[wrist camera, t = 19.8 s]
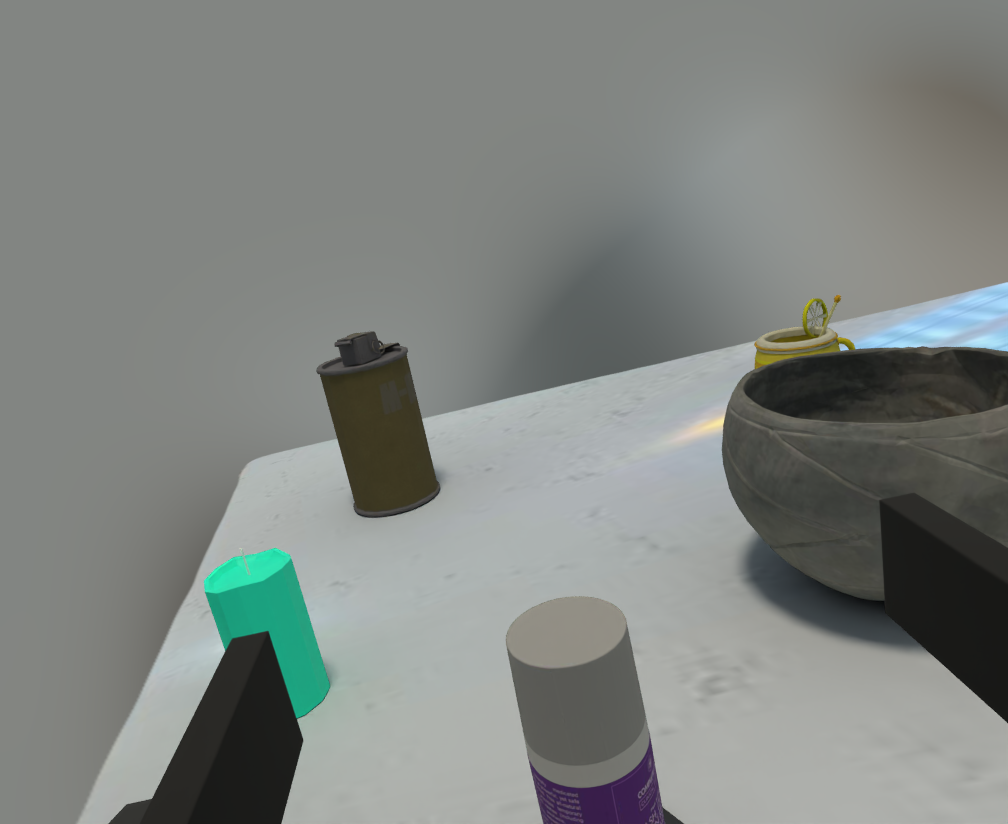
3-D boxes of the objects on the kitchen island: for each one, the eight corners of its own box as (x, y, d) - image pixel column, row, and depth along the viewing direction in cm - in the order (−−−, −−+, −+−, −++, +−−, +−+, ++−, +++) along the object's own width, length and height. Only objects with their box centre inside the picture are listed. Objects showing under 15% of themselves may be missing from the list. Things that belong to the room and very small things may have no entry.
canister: (404, 519, 80) (359, 343, 75) (336, 514, 86) (290, 350, 80) (459, 480, 89) (422, 319, 84) (393, 477, 94) (355, 327, 89)
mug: (772, 414, 89) (762, 318, 86) (746, 391, 100) (736, 305, 97) (879, 395, 88) (873, 297, 85) (841, 374, 99) (835, 287, 95)
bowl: (1122, 676, 39) (1131, 414, 35) (720, 647, 49) (692, 436, 45) (1031, 507, 58) (1030, 321, 54) (750, 509, 67) (732, 350, 63)
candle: (326, 712, 50) (278, 556, 47) (239, 735, 50) (184, 579, 46) (333, 662, 56) (291, 521, 53) (255, 682, 55) (207, 541, 52)
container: (699, 987, 28) (642, 654, 24) (580, 1009, 28) (504, 681, 24) (669, 879, 33) (617, 584, 29) (565, 898, 33) (500, 607, 29)
